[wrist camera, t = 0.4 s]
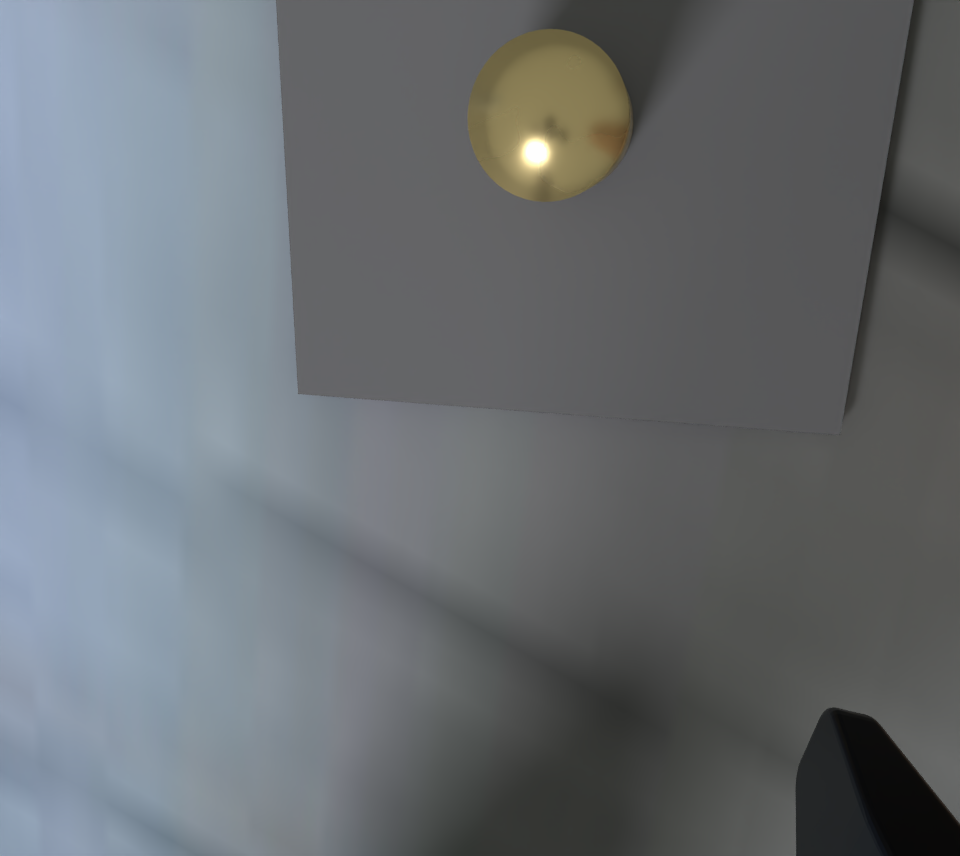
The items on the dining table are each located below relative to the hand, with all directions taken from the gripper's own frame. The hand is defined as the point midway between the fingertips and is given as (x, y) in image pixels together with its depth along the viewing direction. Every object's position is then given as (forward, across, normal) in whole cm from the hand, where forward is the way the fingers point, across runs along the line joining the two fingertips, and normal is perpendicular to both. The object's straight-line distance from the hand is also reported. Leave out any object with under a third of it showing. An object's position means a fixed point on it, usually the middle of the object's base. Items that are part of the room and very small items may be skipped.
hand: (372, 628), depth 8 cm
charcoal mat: (+14, 0, -3) cm, 15 cm away
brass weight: (+14, 0, -3) cm, 14 cm away
